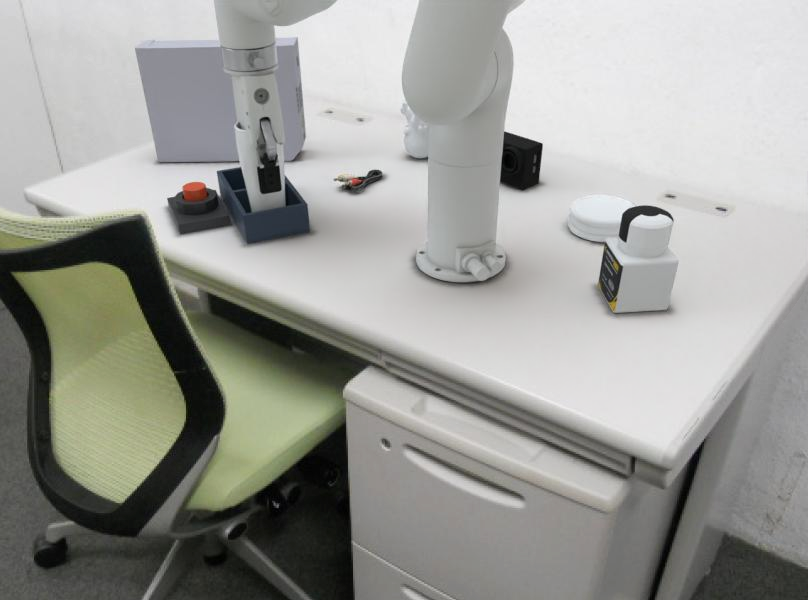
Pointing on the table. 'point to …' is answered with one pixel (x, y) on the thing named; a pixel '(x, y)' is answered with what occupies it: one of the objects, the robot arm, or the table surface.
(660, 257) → the medicine bottle
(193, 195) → the button
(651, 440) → the table surface
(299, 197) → the divided tray
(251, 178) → the drinking glass
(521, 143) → the digital camera
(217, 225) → the control block
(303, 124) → the game console
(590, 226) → the round white container
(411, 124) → the figurine
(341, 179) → the composite cable
